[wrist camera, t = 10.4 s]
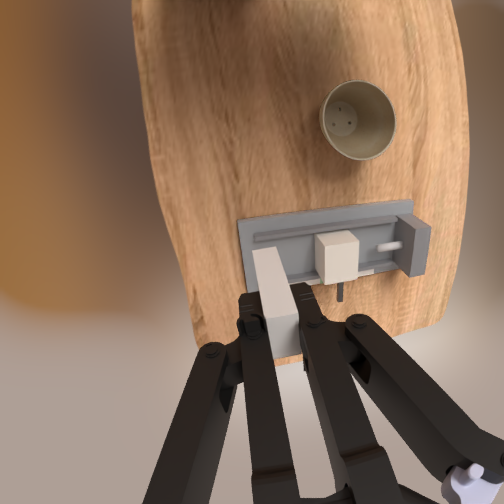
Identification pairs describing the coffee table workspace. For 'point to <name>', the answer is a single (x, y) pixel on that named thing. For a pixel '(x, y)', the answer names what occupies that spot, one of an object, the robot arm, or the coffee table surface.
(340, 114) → the flower pot
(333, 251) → the cream block
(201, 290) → the coffee table surface
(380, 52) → the coffee table surface
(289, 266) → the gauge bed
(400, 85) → the coffee table surface
